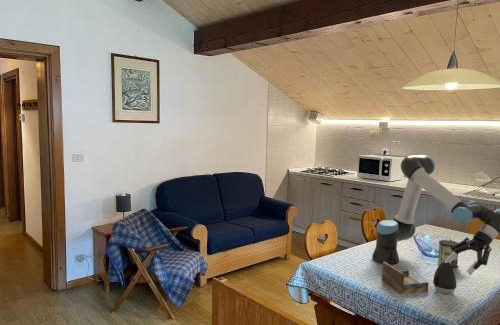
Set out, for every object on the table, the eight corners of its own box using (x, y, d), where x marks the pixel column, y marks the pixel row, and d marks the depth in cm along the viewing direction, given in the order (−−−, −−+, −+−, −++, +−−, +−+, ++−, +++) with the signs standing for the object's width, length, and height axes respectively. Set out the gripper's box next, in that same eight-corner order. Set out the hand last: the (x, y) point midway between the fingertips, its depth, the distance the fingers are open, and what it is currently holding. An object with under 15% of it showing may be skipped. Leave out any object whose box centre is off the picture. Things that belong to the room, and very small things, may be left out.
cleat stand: (407, 278, 201) (408, 260, 200) (427, 291, 185) (429, 271, 184) (381, 280, 197) (382, 261, 196) (400, 294, 182) (401, 274, 181)
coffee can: (454, 264, 223) (455, 240, 222) (459, 270, 213) (462, 246, 212) (435, 262, 225) (436, 239, 224) (440, 268, 215) (442, 244, 214)
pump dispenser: (455, 298, 178) (458, 267, 177) (431, 293, 184) (433, 262, 182) (456, 290, 187) (459, 261, 185) (433, 285, 192) (435, 256, 191)
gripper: (512, 248, 175) (482, 282, 173) (469, 233, 199) (443, 263, 197) (503, 238, 173) (474, 272, 171) (461, 224, 197) (434, 254, 195)
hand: (457, 267), depth 184 cm, fingers open, 13 cm apart
